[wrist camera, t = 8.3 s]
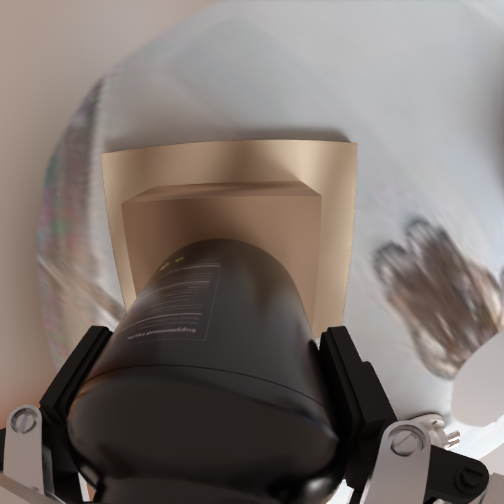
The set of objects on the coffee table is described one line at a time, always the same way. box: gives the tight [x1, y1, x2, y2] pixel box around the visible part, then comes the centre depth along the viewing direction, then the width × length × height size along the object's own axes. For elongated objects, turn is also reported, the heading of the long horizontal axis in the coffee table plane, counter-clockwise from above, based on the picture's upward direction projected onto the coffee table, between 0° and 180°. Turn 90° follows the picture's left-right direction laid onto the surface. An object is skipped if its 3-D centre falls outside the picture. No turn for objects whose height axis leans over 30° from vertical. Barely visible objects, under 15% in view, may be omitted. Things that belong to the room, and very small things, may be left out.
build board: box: [101, 140, 357, 338], centre depth 19 cm, size 16×14×1 cm
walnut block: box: [121, 181, 322, 329], centre depth 16 cm, size 9×9×5 cm
